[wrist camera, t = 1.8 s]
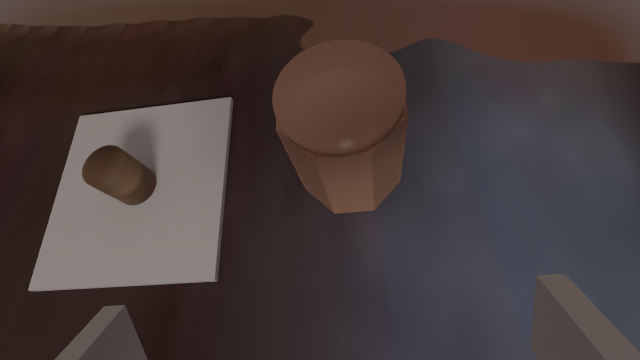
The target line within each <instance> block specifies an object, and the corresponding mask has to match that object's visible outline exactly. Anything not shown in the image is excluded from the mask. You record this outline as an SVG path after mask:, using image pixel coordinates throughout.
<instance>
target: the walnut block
mask: <svg viewBox="0 0 640 360" xmlns="http://www.w3.org/2000/svg"><path fill="white" fill-rule="evenodd" d="M82 177H83V180H84V181H85V182H86V183H87V184H88V185H90V186H92V187H94V188H96V189H98V190H100V191H101V192H103V193H105V194H107V195H109V196H111V197H113V198H115V199H117V200H119V201H121V202H123V203H125V204H127V205H138V204H141V203H143V202H144V201H146V200H147V199H148V198H149V197H150V196H151V195H152V194H153V192H154V190H155V188H156V183H157V179H156V175H155V174H154V172H153V171H152V170H150V169H149V168H147V167H146V166H145V165H143V164H142V163H140V162H139V161H138V160H136V159H135V158H134V157H132V156H131V155H129V154H128V153H127V152H125V151H124V150H122V149H121V148H120V147H118V146H115V145H106V146H103V147H100V148H98V149H97V150H95V151H94V152H93V153H91V154H90V156H89V157H88V158H87V159H86V161H85V163H84V165H83V168H82Z"/></svg>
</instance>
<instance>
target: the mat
mask: <svg viewBox="0 0 640 360" xmlns="http://www.w3.org/2000/svg"><path fill="white" fill-rule="evenodd" d="M232 112H233V99H232V97H228V98H220V99H212V100H204V101H196V102H188V103H180V104H172V105H164V106H156V107H148V108H140V109H132V110H125V111H117V112H109V113H101V114H93V115H85V116H80V118H79V121H78V125H77V128H76V131H75V135H74V138H73V142H72V145H71V148H70V152H69V155H68V158H67V162H66V165H65V168H64V172H63V175H62V178H61V182H60V185H59V188H58V192H57V195H56V198H55V202H54V205H53V209H52V212H51V215H50V219H49V222H48V225H47V229H46V232H45V235H44V239H43V242H42V245H41V249H40V252H39V255H38V259H37V262H36V265H35V269H34V272H33V276H32V279H31V282H30V286H29V289H28V291H50V290H68V289H86V288H104V287H122V286H140V285H158V284H177V283H195V282H213V281H218V272H219V261H220V249H221V238H222V226H223V215H224V204H225V192H226V181H227V169H228V158H229V146H230V135H231V123H232ZM106 145H115V146H118V147H120V148H121V149H122V150H124V151H125V152H127V153H128V154H129V155H131V156H132V157H134V158H135V159H136V160H138V161H139V162H140V163H142V164H143V165H145V166H146V167H147V168H149V169H150V170H152V171H153V172H154V174H155V175H156V179H157V183H156V188H155V190H154V192H153V194H152V195H151V196H150V197H149V198H148V199H147V200H146V201H144V202H143V203H141V204H138V205H127V204H125V203H123V202H121V201H119V200H117V199H115V198H113V197H111V196H109V195H107V194H105V193H103V192H101V191H100V190H98V189H96V188H94V187H92V186H90V185H88V184H87V183H86V182H85V181H84V180H83V177H82V168H83V165H84V163H85V161H86V159H87V158H88V157H89V156H90V154H91V153H93V152H94V151H95V150H97V149H98V148H100V147H103V146H106Z"/></svg>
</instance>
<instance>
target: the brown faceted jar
mask: <svg viewBox="0 0 640 360" xmlns="http://www.w3.org/2000/svg"><path fill="white" fill-rule="evenodd" d="M405 97H406V81H405V77H404V74H403V71H402V69H401V67H400V65H399V64H398V62H397V61H396V60H395V59H394V58H393V56H391V55H390V54H389V53H388V52H387V51H385V50H383V49H382V48H380V47H378V46H376V45H374V44H372V43H369V42H365V41H361V40H354V39H337V40H331V41H326V42H322V43H319V44H316V45H314V46H311V47H309V48H307V49H306V50H304V51H302V52H301V53H299V54H298V55H296V56H295V57H294V58H293V59H291V60H290V61H289V63H288V64H287V65H286V66H285V67H284V68H283V70H282V71H281V73H280V74H279V76H278V78H277V80H276V83H275V86H274V89H273V96H272V103H273V109H274V113H275V116H276V131H277V133H278V135H279V137H280V139H281V141H282V143H283V145H284V147H285V149H286V151H287V153H288V155H289V157H290V159H291V161H292V163H293V165H294V167H295V169H296V171H297V173H298V175H299V177H300V179H301V181H302V182H303V184H304V186H305V188H306V190H307V191H308V192H309V193H311V194H312V195H313V196H314V197H315V198H316V199H318V200H319V201H320V202H321V203H322V204H324V205H325V206H326V207H327V208H328V209H330V210H331V211H332V212H333V213H334V214H337V213H350V212H363V211H375V209H376V208H377V207H378V206H379V205H380V204H381V203H382V201H383V200H384V199H385V198H386V197H387V196H388V195H389V194H390V192H391V191H392V190H393V189H394V188H395V187H396V186H397V185H398V183H400V178H401V170H402V162H403V155H404V147H405V139H406V131H407V123H408V116H409V115H408V111H407V105H406V98H405Z"/></svg>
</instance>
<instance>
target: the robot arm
mask: <svg viewBox="0 0 640 360" xmlns="http://www.w3.org/2000/svg"><path fill="white" fill-rule="evenodd" d="M531 349H532V350H533V352H534V354H535V355H536V357H537V358H538V360H640V352H639V351H638V350H637V349H636V348H635V347H634V346H633V345H632V344H631V343H630V342H629V341H628V340H627V339H626V338H625V337H624V336H623V335H622V333H621V332H620V331H619V330H618V329H617V328H616V327H615V326H614V325H613V324H612V323H611V322H610V321H609V320H608V319H607V318H606V317H605V316H604V315H603V313H602V312H601V311H600V310H599V309H598V308H597V307H596V306H595V305H594V304H593V303H592V302H591V301H590V300H589V299H588V298H587V297H586V296H585V295H584V293H583V292H582V291H581V290H580V289H579V288H578V287H577V286H576V285H575V284H574V283H573V282H572V281H571V280H570V279H569V278H568V277H567V276H566V275H565V274H554V275H540V276H537V280H536V292H535V304H534V315H533V327H532V339H531ZM55 360H147V357H146V355H145V353H144V350H143V348H142V345H141V343H140V341H139V338H138V336H137V333H136V331H135V329H134V326H133V324H132V321H131V319H130V317H129V314H128V312H127V309H126V307H125V305H120V306H106V307H103V308H102V309H101V310H100V311H99V313H98V314H97V315H96V316H95V317H94V318H93V319H92V320H91V321H90V322H89V323H88V324H87V325H86V327H85V328H84V329H83V330H82V331H81V332H80V333H79V334H78V335H77V336H76V337H75V338H74V339H73V341H72V342H71V343H70V344H69V345H68V346H67V347H66V348H65V349H64V350H63V351H62V352H61V353H60V355H59V356H58V357H57V358H56V359H55Z"/></svg>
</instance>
